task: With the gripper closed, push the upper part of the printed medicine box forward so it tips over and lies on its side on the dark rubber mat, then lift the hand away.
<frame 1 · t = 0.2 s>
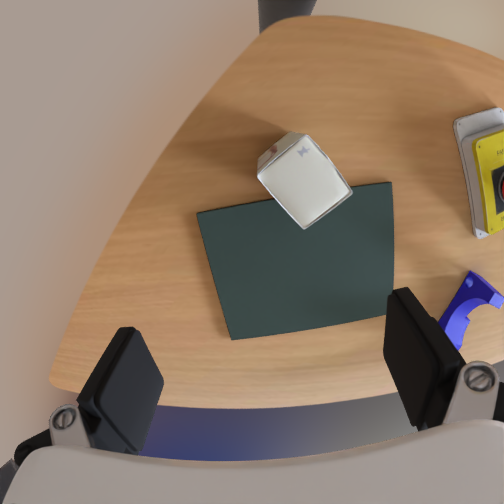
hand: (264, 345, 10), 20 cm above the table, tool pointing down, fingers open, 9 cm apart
mat: (306, 268, 32), on the table
emergency button: (489, 172, 26), on the table
cable clip: (456, 310, 34), on the table
printed medicine box: (291, 164, 28), on the table
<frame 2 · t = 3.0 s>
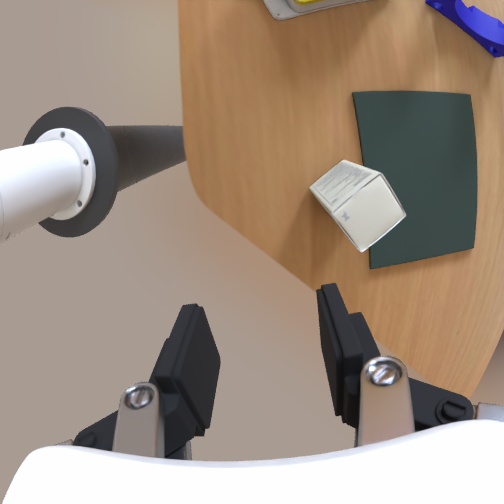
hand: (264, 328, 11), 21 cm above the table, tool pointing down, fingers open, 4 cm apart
mat: (427, 177, 29), on the table
cable clip: (464, 18, 20), on the table
printed medicine box: (338, 187, 30), on the table
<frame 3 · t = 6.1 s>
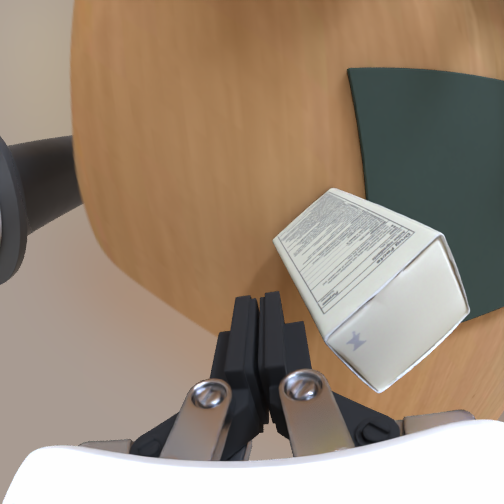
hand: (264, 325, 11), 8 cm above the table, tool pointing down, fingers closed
mat: (463, 212, 17), on the table
printed medicine box: (323, 236, 18), on the table, touching gripper
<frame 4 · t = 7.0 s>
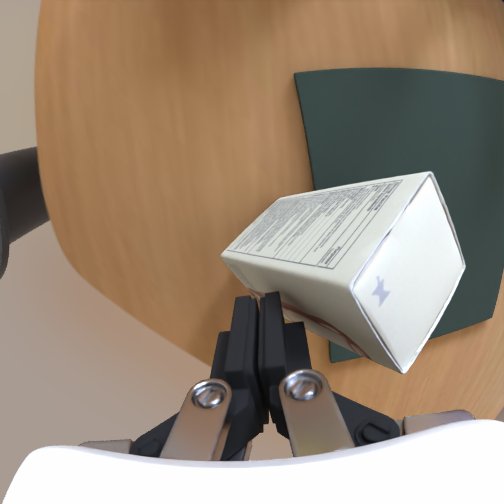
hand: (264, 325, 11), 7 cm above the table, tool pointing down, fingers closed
mat: (433, 222, 17), on the table
printed medicine box: (273, 252, 17), point 1 cm above the table
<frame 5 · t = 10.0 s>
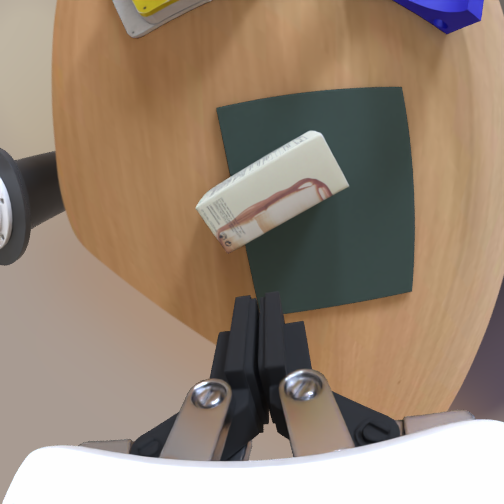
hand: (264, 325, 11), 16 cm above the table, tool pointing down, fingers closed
mat: (331, 206, 25), on the table
printed medicine box: (214, 222, 23), point 3 cm above the table, touching mat
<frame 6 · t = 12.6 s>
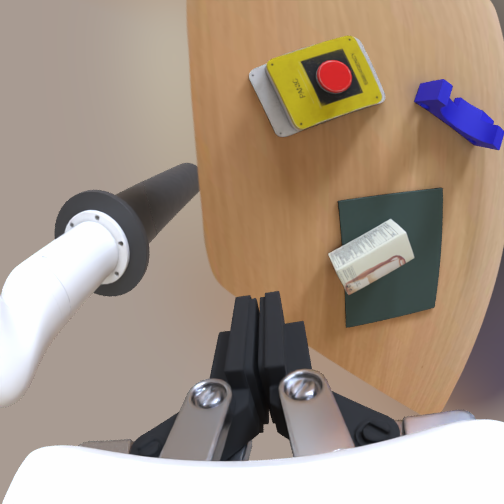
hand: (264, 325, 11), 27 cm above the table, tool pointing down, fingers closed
mat: (395, 261, 39), on the table
emergency button: (319, 84, 31), on the table
cable clip: (450, 110, 30), on the table
printed medicine box: (336, 275, 38), point 3 cm above the table, touching mat
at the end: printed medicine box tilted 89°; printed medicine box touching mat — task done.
